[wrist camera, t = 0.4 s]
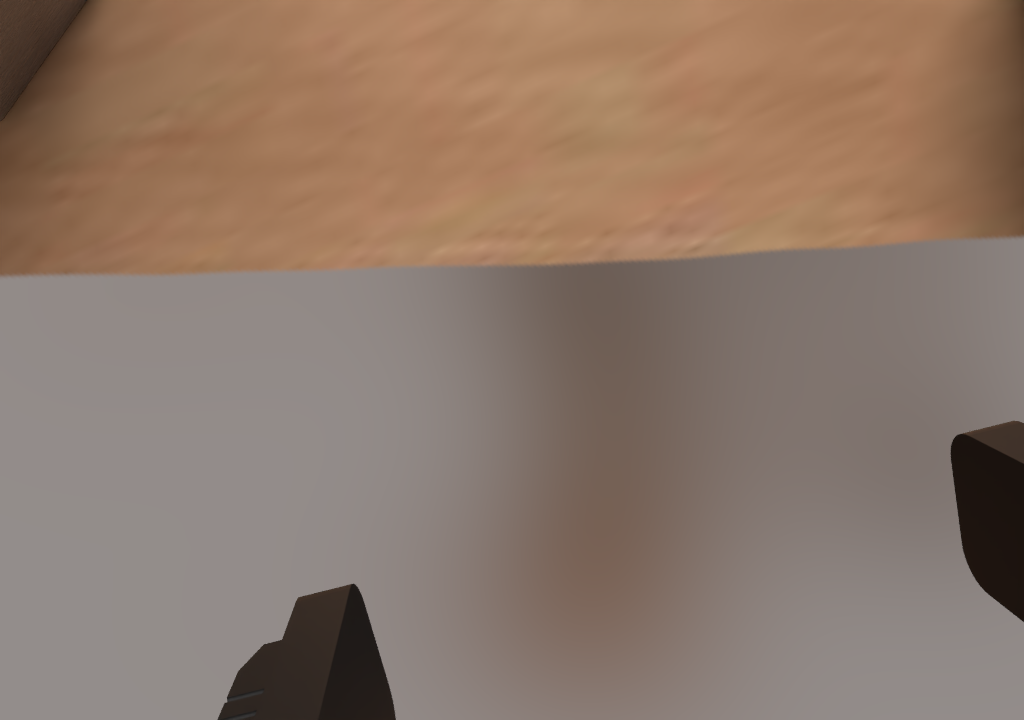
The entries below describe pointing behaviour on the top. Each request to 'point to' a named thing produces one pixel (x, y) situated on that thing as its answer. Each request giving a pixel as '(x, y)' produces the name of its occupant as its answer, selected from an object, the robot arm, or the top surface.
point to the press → (29, 40)
